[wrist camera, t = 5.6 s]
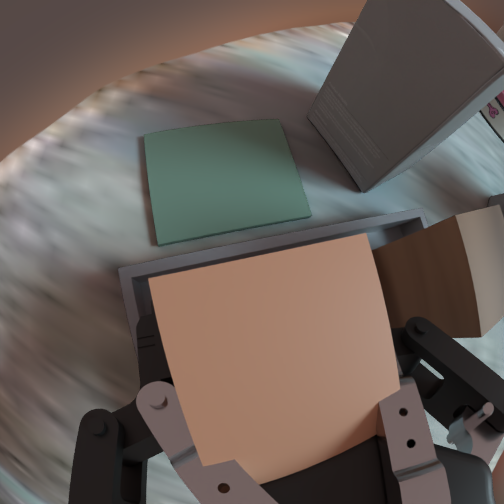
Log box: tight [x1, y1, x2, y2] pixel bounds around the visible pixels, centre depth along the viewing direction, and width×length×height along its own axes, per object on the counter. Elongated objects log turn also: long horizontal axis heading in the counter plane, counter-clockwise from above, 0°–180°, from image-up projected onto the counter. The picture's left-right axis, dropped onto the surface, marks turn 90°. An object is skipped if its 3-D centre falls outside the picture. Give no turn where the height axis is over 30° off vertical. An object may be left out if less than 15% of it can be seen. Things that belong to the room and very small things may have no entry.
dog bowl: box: [479, 90, 504, 143], centre depth 31 cm, size 18×19×7 cm
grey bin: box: [118, 208, 429, 359], centre depth 16 cm, size 20×9×3 cm, turn 104°
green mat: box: [144, 119, 312, 247], centre depth 18 cm, size 10×8×1 cm
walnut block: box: [371, 205, 504, 338], centre depth 14 cm, size 5×5×10 cm
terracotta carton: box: [148, 233, 400, 493], centre depth 10 cm, size 5×5×10 cm
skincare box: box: [307, 0, 504, 193], centre depth 14 cm, size 8×7×16 cm
